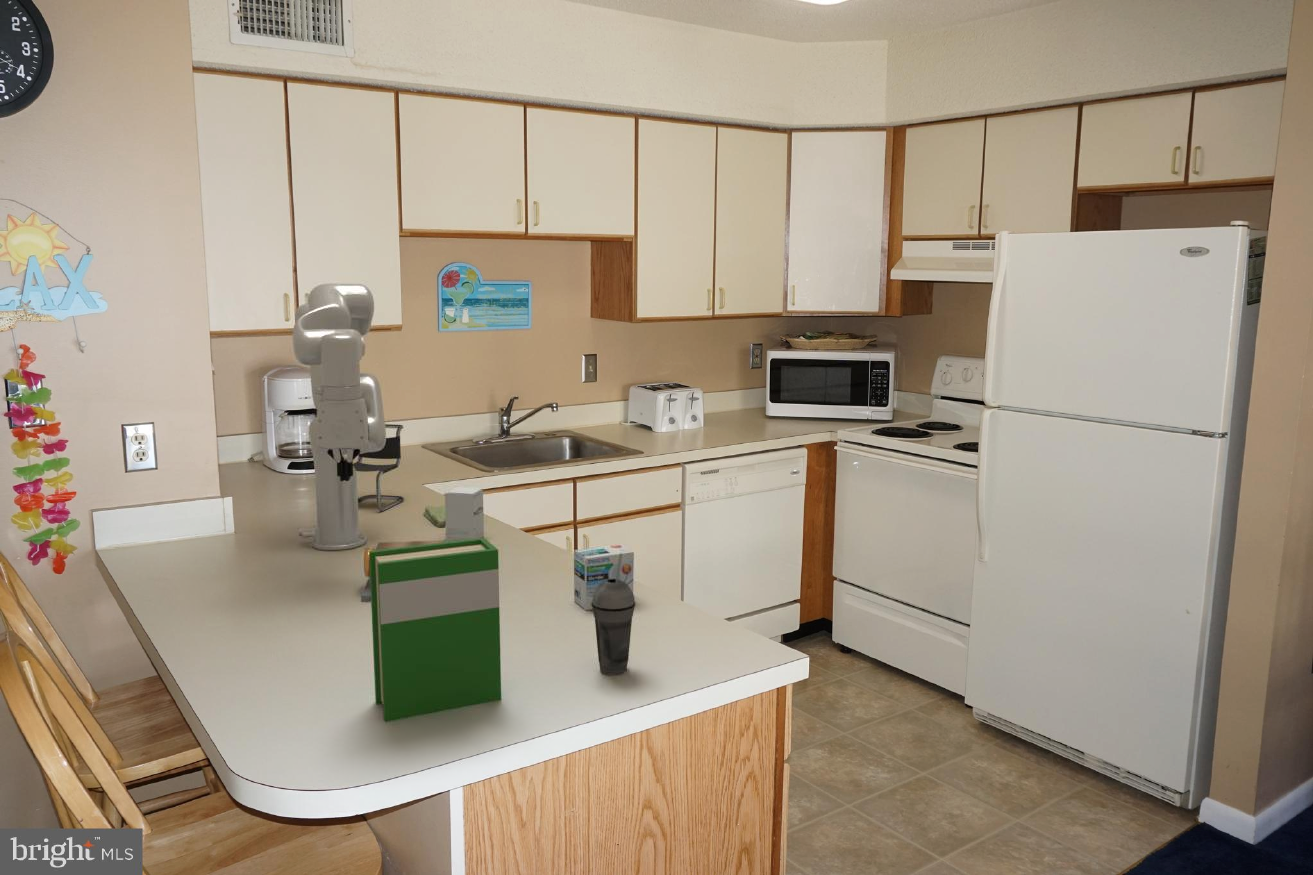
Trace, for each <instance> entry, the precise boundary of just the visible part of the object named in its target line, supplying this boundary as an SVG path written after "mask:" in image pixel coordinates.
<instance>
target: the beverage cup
mask: <svg viewBox="0 0 1313 875" xmlns="http://www.w3.org/2000/svg"><path fill="white" fill-rule="evenodd" d="M621 561H622V554H621V553H620V554H619V560H618V567H617V575H616V579H608V580H605V581H604V582H602V583H601V584H600V585H599V586H598V587H597V588H596V590H595V592H594V595H593V599H592V604H591V605H592V609H593V610H592V614H593V617H594V624H595V626H594V627H595V636H596V646H597V647H596V648H597V657H598V663H599V664H598V665H599V671H600V673H601V674H602V675H603V674H604V675H605V676H620V675H622V674H626V672H627V671H628V662H629V656H630V655H629V654H630V644H631V635H632V634H631V632H632V624H633V623H632V621H633V616H634V613H635V612H634V611H635V606H636V601H635V595H634V591H633V592H632V590H631V588H630V587H629V586H628V584H626V583H625V582H623V581H622V580H619V577H620V569H621Z"/></svg>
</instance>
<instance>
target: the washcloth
mask: <svg viewBox="0 0 1313 875" xmlns="http://www.w3.org/2000/svg"><path fill="white" fill-rule="evenodd" d="M423 516H424V517H426V519H428V520H429V521H430V522H431V523H432V524H434V525H435V526H436V527H437V528H446V527H445V526H446V518H445V504H442V505H438V506H433V505H428V506H427V505H426V506H425V507H424V512H423Z"/></svg>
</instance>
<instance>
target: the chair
mask: <svg viewBox="0 0 1313 875" xmlns="http://www.w3.org/2000/svg"><path fill="white" fill-rule="evenodd" d="M403 428H404V425H402V424H389V423H385V429H396V433H395V436H392V437H386V443H385V446H384V447H383V449H381V450H380V451H376V452H367V453H362V454H359V455H358V456H357V457H358V458H357V459H358V460H357V461H356V462H353V466H354V468H355V470H356V472H362V473H364V472H365V473H366V472H378V473H377V474H376V476H375V477H376V478H375V481H376V482H375V487H376V492H375V493H376V494H366V495H362V496H360V497H358V503H360V502H362V501H364V499H365V500H368V499H369V498H371V499H376V507H377V509H378V511H380V512H385V511H386V510H388V509H390V508H393V507H395V506H396V504H397V505H399V504H400V503H402V502H404V496H401V495H389V494H386V495H384V494H381V477H382V475H384V474H387V473H388V472H390V471H392V470H395V469H397V468H399V466H400V464H401V458H402V453H401V431H402V430H403ZM363 458H365V459H372V460H373V459H374V460H375V459H376V460H377V459H378V460H396V462H395V463H392V464H370V463H364V462H363ZM381 498H384V499H383V500H394V501H392V502H390V503H389V504H387V505H384V506H383V507H382V499H381ZM396 499H398V500H396ZM398 503H399V504H398ZM392 506H393V507H392Z"/></svg>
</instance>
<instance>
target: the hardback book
mask: <svg viewBox="0 0 1313 875" xmlns="http://www.w3.org/2000/svg"><path fill="white" fill-rule="evenodd" d="M369 563H370V586H371V601H370V604H371V606H370V607H371V628H372V629H371V630H372V649H373V650H372V652H373V653H372V654H373V672H374V674H373V675H374V695H375V696H374V697H375V698H374V699H375V704H376V705H381V704H382V710H383V721H384V723H388V722H393V721H399V720H403V719H408V718H413V717H419V716H425V715H429V714H434V713H440V712H446V711H449V710H457V709H459V708H460V709H461V708H467V707H473V706H477V705H481V704H486V703H491V702H497V701H501V700H502V673H501V672H502V669H501V668H502V666H501V663H502V662H501V626H500V625H501V624H500V622H501V620H500V615H501V614H500V575H499V574H500V573H499V549H498V548H497V547H496V546H495V545H494V544H492V543H491V542H490V541H488V540H487V538H485V537H482V538H478V539H469V540H461V541H452V542H443V543H434V544H426V545H417V546H408V547H400V548H391V549H382V550H374V551H369Z"/></svg>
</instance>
